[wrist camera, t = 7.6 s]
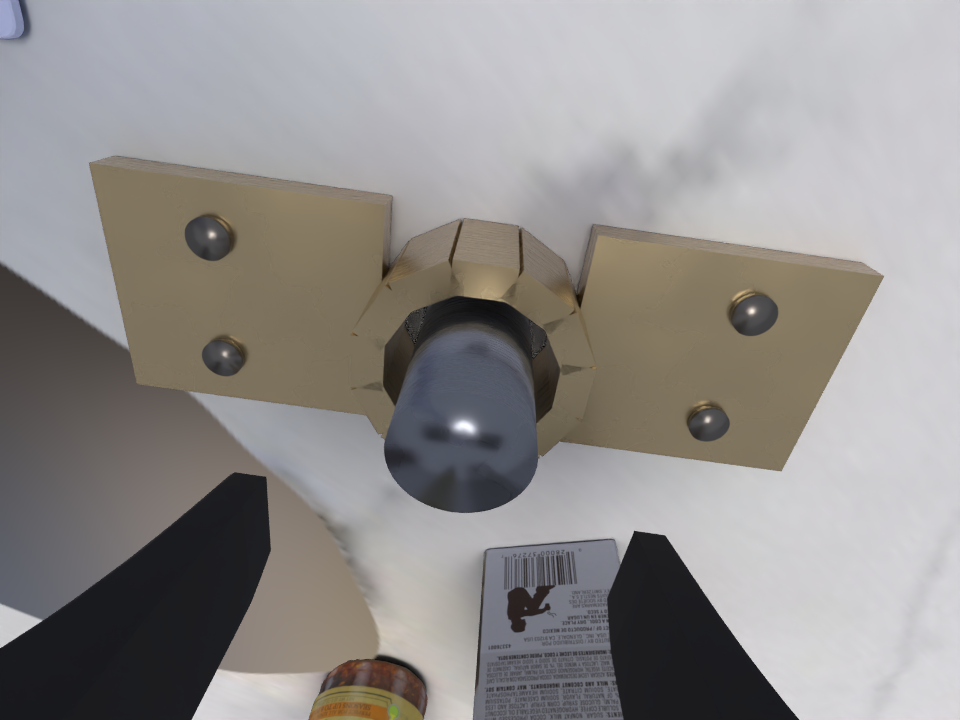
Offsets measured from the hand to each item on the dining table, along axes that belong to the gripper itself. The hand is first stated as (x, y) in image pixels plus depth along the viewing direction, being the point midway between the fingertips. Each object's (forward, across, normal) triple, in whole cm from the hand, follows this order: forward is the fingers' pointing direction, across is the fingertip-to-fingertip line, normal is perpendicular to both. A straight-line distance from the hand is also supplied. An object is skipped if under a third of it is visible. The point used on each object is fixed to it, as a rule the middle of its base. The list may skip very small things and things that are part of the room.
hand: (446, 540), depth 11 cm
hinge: (+10, 0, 0) cm, 10 cm away
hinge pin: (+10, 0, 0) cm, 10 cm away
